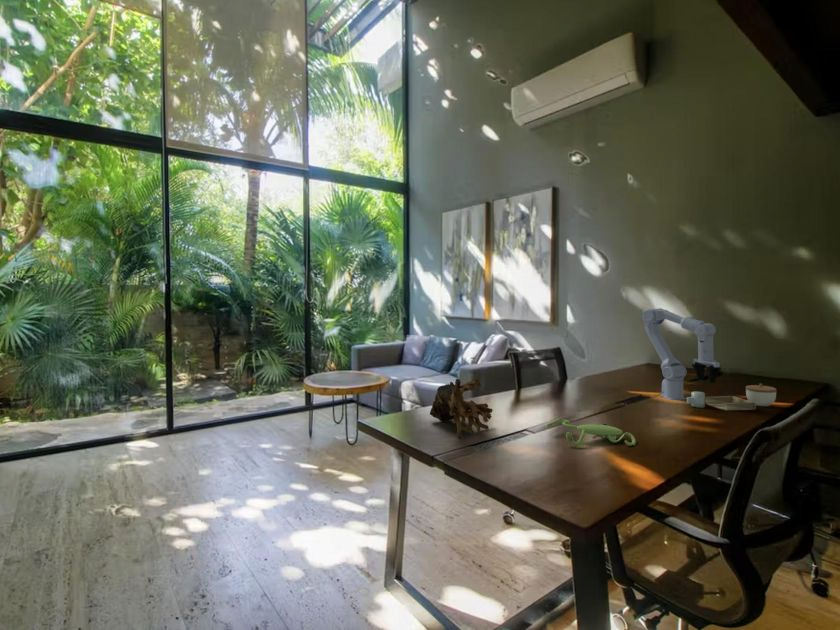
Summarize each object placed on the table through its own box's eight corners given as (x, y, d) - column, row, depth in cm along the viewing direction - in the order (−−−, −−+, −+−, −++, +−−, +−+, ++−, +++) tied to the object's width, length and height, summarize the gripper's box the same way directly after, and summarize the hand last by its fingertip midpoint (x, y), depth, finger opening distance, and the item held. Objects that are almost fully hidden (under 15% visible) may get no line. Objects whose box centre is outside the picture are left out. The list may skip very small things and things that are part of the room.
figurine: (544, 432, 165) (544, 417, 165) (616, 430, 165) (616, 415, 165) (560, 449, 147) (560, 432, 146) (641, 447, 147) (641, 430, 147)
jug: (684, 405, 197) (684, 391, 197) (700, 404, 198) (700, 391, 197) (691, 408, 192) (691, 394, 192) (707, 407, 193) (707, 393, 192)
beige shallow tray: (703, 403, 200) (703, 396, 200) (732, 402, 201) (732, 395, 201) (725, 411, 187) (725, 403, 187) (755, 410, 187) (755, 403, 187)
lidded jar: (765, 402, 200) (765, 381, 200) (782, 408, 189) (782, 386, 189) (740, 402, 201) (740, 381, 201) (755, 408, 190) (755, 386, 190)
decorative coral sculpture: (454, 395, 194) (511, 391, 173) (443, 447, 184) (502, 450, 163) (413, 371, 180) (470, 364, 159) (398, 427, 170) (457, 427, 149)
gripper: (726, 352, 190) (726, 383, 191) (703, 348, 205) (704, 378, 205) (710, 352, 190) (710, 384, 190) (688, 349, 205) (689, 378, 205)
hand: (706, 381), depth 198 cm, fingers open, 7 cm apart
